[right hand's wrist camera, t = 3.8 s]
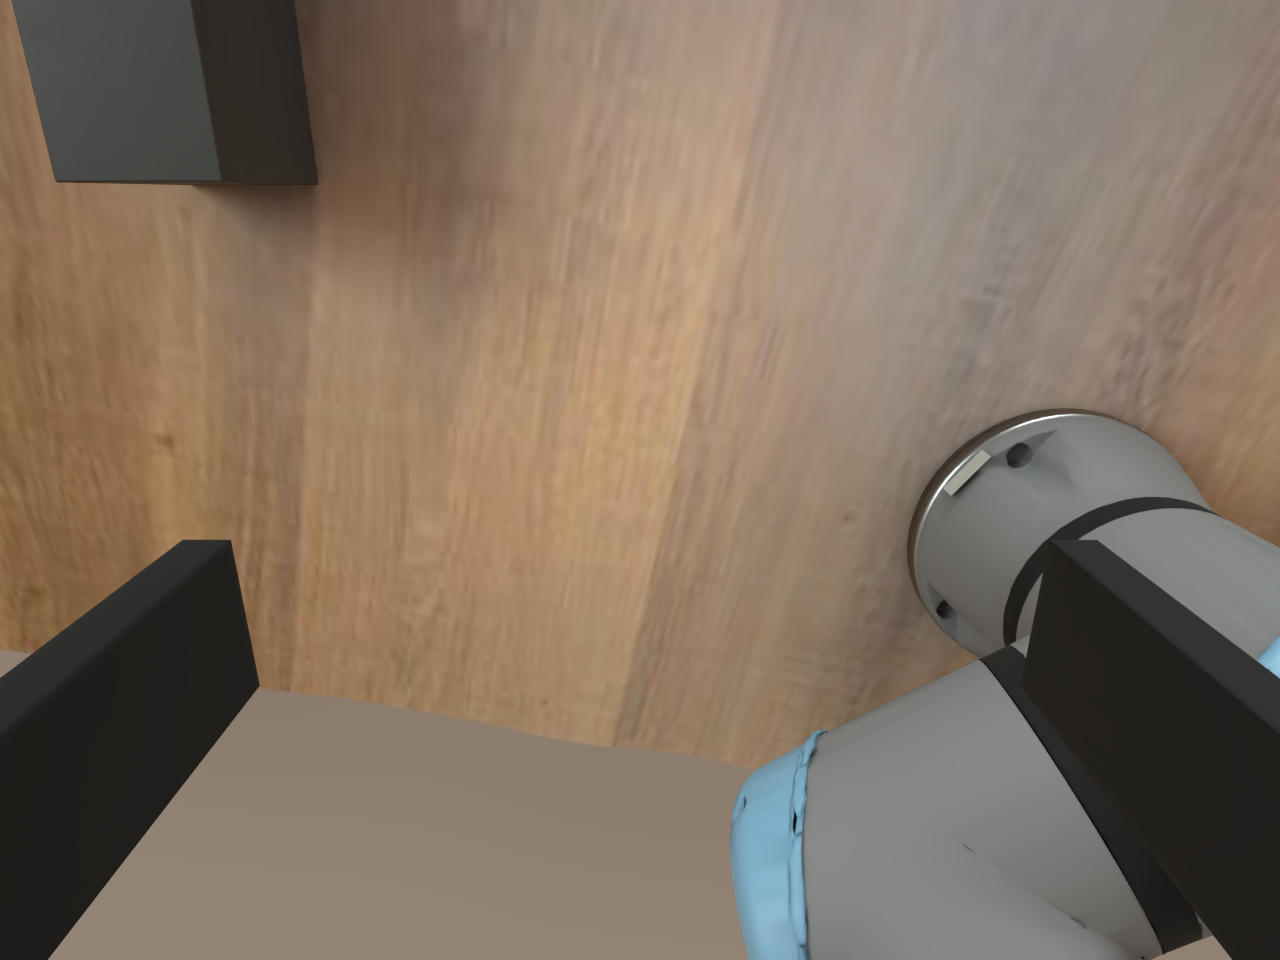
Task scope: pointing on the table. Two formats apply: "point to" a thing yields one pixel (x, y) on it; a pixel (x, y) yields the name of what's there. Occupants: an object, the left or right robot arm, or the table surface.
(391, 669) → the table surface
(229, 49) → the box
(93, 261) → the table surface
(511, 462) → the table surface
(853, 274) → the table surface
